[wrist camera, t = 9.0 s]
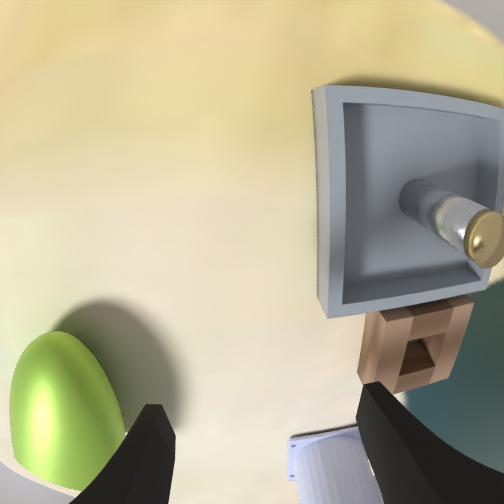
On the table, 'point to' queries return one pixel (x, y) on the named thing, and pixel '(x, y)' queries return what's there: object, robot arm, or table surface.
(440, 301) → the pin block
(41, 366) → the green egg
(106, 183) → the table surface
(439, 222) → the pin
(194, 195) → the table surface
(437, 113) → the tray
